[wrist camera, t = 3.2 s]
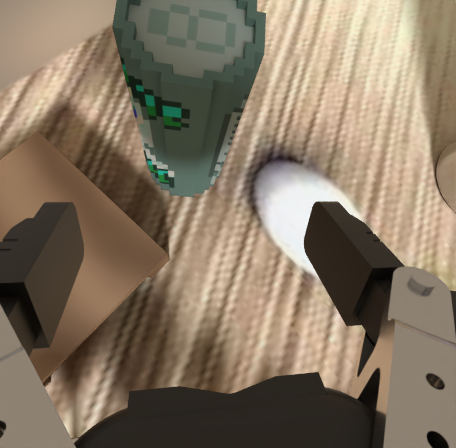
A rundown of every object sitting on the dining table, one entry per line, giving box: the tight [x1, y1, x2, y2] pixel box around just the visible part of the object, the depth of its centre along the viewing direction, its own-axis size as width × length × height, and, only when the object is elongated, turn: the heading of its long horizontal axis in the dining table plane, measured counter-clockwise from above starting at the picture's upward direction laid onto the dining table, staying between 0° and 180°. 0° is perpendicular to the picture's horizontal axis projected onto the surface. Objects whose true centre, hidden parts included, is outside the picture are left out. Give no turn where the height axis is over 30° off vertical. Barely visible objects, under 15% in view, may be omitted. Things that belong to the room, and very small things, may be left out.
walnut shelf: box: [0, 132, 169, 387], centre depth 21 cm, size 14×12×5 cm
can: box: [113, 0, 266, 197], centre depth 20 cm, size 6×6×15 cm
